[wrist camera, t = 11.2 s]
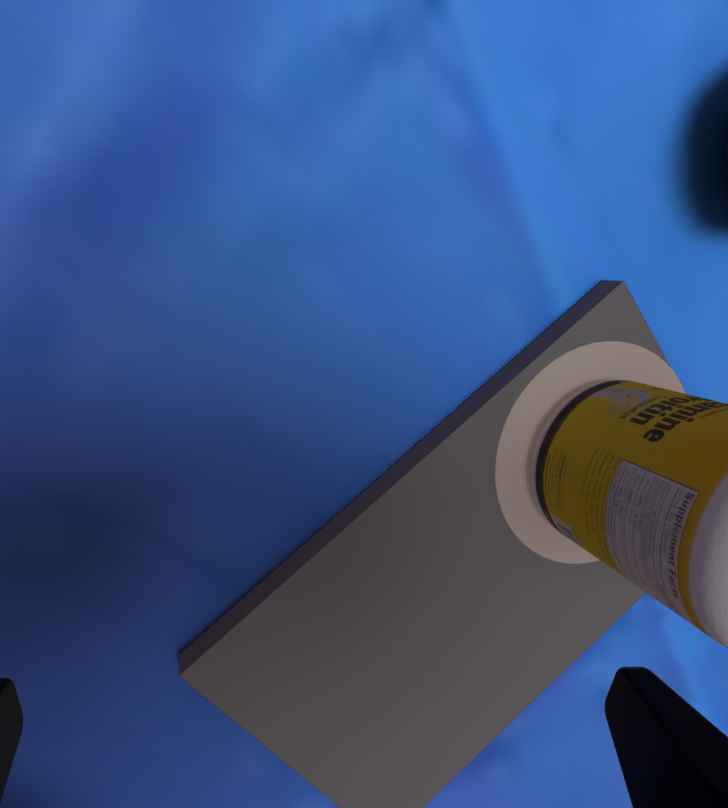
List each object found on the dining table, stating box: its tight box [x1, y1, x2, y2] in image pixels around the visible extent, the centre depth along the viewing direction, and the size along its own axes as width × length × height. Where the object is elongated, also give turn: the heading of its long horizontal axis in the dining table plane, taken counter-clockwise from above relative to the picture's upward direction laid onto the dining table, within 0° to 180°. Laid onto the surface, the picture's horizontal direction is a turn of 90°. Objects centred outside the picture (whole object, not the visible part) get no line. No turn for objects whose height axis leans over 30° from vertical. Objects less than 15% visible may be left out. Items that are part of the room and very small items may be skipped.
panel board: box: [179, 280, 686, 808], centre depth 24 cm, size 21×12×1 cm, turn 128°
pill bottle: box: [532, 380, 728, 648], centre depth 18 cm, size 6×6×12 cm
